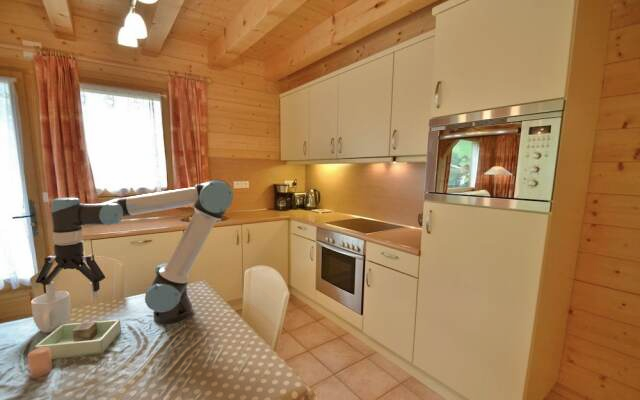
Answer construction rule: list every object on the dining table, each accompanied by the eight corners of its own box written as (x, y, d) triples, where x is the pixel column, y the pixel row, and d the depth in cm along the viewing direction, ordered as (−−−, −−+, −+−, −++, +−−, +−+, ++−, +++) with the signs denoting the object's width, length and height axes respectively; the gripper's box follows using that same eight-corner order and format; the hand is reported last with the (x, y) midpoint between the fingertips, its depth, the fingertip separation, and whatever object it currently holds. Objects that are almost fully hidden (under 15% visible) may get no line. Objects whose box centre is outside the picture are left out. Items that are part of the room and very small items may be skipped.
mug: (67, 335, 108) (64, 303, 106) (27, 345, 102) (23, 311, 100) (74, 317, 120) (71, 288, 119) (38, 325, 114) (35, 295, 112)
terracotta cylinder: (56, 365, 92) (54, 345, 91) (44, 376, 87) (42, 356, 86) (38, 367, 91) (36, 347, 90) (25, 379, 86) (22, 358, 85)
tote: (121, 331, 111) (120, 319, 110) (101, 354, 98) (100, 340, 97) (63, 336, 107) (62, 324, 106) (35, 360, 94) (33, 347, 93)
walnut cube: (97, 333, 108) (96, 321, 107) (89, 341, 103) (88, 329, 102) (82, 335, 107) (81, 322, 106) (73, 343, 102) (72, 330, 101)
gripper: (114, 239, 103) (117, 294, 106) (36, 239, 99) (41, 297, 102) (102, 244, 96) (105, 303, 98) (17, 245, 92) (23, 307, 94)
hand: (73, 300), depth 100 cm, fingers open, 13 cm apart
